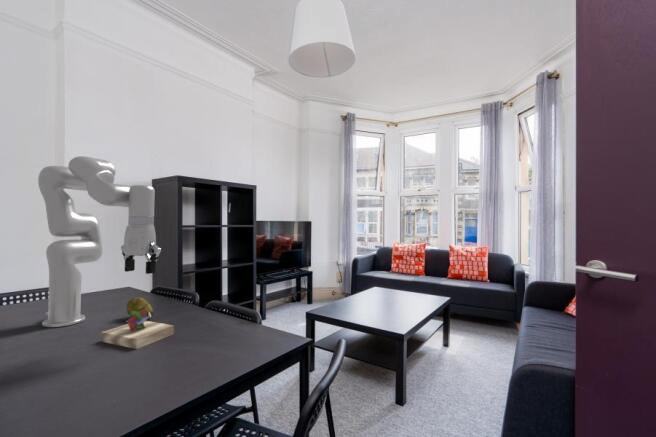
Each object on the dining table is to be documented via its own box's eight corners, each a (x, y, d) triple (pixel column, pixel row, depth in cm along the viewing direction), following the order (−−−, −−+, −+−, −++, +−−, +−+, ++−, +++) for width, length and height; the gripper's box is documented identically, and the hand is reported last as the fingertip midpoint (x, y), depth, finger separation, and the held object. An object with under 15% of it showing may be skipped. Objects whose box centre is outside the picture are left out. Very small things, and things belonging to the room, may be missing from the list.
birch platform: (101, 341, 101) (101, 332, 101) (140, 327, 114) (140, 319, 114) (136, 349, 95) (137, 339, 95) (173, 334, 108) (173, 325, 108)
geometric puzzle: (129, 328, 98) (144, 305, 103) (115, 325, 101) (130, 302, 106) (145, 336, 104) (159, 313, 108) (132, 333, 106) (145, 310, 111)
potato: (130, 325, 117) (130, 304, 117) (124, 317, 127) (125, 297, 127) (154, 320, 122) (155, 300, 122) (147, 313, 132) (148, 294, 132)
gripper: (112, 221, 105) (111, 271, 104) (150, 222, 99) (148, 275, 98) (133, 221, 112) (131, 268, 111) (169, 222, 106) (168, 272, 106)
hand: (139, 272), depth 105 cm, fingers open, 9 cm apart
